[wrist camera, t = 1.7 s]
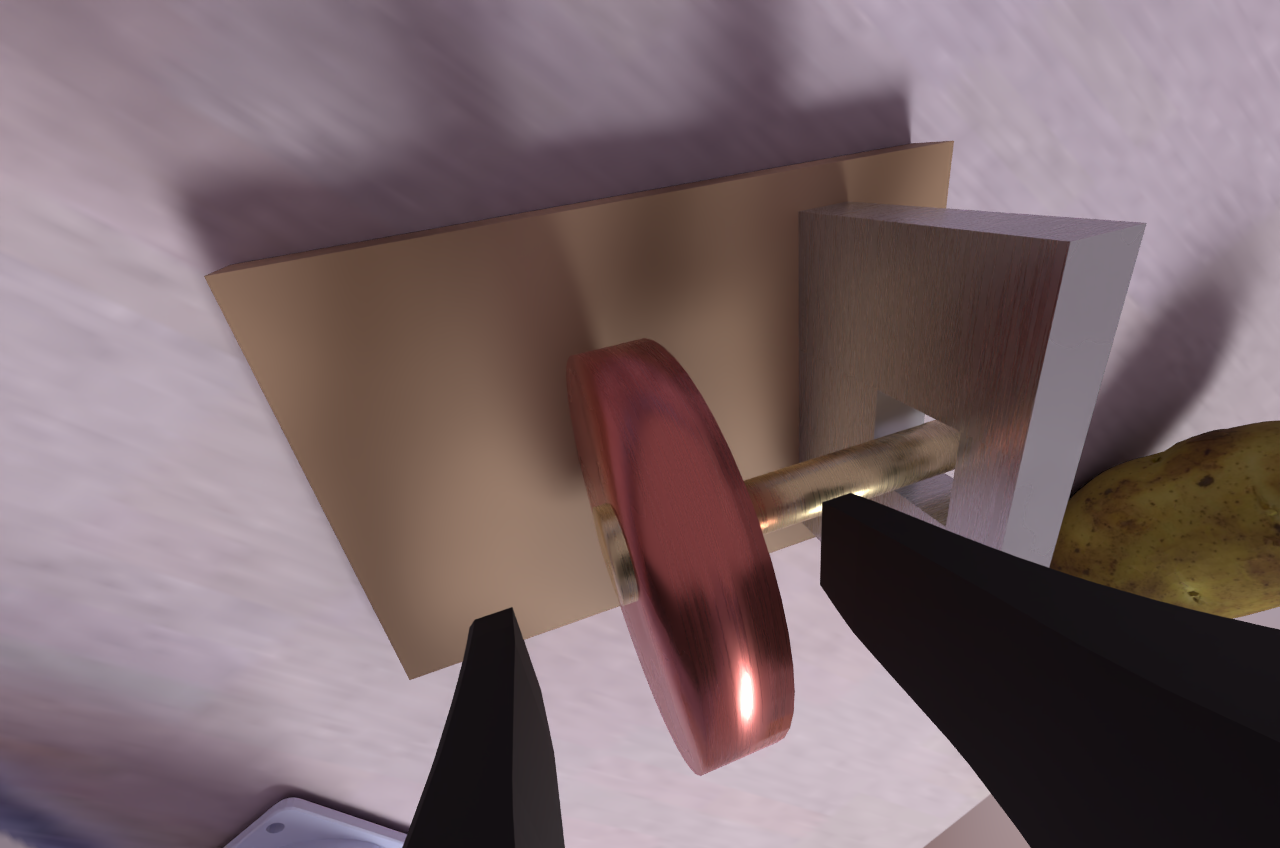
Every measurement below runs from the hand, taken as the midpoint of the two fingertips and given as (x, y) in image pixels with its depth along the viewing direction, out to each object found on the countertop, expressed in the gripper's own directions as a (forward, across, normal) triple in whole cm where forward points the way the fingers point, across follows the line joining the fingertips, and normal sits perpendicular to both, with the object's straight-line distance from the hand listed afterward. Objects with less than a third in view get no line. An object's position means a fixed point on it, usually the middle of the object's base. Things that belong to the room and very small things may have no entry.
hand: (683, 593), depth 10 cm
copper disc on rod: (+6, -5, 0) cm, 7 cm away
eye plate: (+6, -7, 0) cm, 9 cm away
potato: (+8, -24, +11) cm, 28 cm away
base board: (+8, -2, 0) cm, 8 cm away
